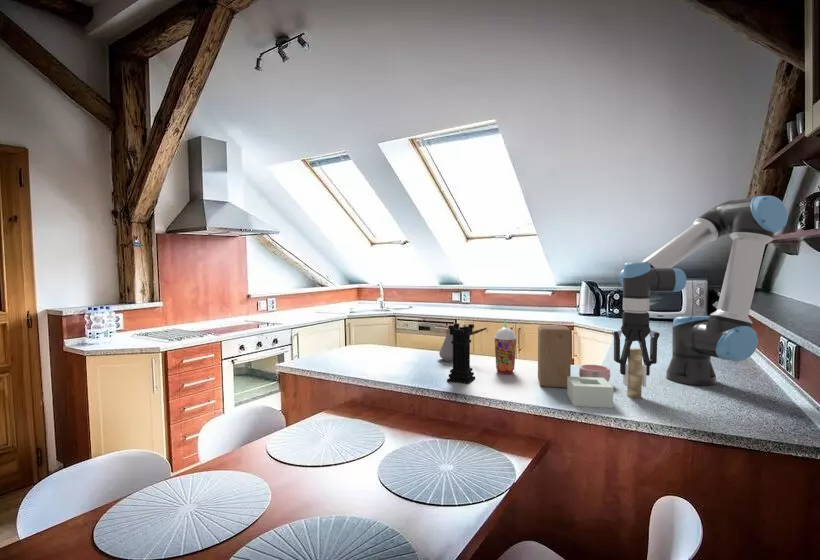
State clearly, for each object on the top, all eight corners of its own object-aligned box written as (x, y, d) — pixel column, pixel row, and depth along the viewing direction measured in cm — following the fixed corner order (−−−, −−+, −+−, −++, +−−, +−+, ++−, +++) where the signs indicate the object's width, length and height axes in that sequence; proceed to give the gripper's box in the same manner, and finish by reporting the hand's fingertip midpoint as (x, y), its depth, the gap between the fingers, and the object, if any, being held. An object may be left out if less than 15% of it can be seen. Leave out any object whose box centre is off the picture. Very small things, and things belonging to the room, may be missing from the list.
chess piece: (475, 378, 164) (475, 324, 163) (468, 384, 156) (468, 327, 156) (454, 376, 167) (454, 323, 166) (447, 381, 160) (447, 325, 159)
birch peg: (638, 395, 143) (639, 348, 142) (643, 398, 139) (644, 350, 139) (625, 394, 144) (626, 348, 143) (629, 398, 140) (630, 350, 139)
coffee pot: (435, 361, 192) (435, 326, 191) (444, 356, 202) (444, 323, 201) (484, 366, 183) (484, 329, 182) (491, 360, 193) (491, 325, 193)
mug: (612, 389, 150) (612, 371, 150) (581, 387, 152) (581, 370, 152) (605, 380, 161) (606, 363, 161) (576, 378, 164) (577, 362, 164)
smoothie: (492, 373, 171) (492, 321, 170) (496, 368, 178) (496, 318, 177) (514, 375, 167) (514, 322, 167) (517, 370, 175) (518, 319, 174)
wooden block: (570, 388, 150) (571, 329, 150) (539, 387, 152) (540, 328, 152) (566, 381, 160) (567, 325, 159) (537, 379, 162) (538, 324, 161)
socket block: (603, 396, 142) (603, 377, 141) (613, 407, 131) (613, 387, 131) (567, 394, 144) (567, 376, 143) (573, 405, 133) (573, 385, 132)
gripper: (661, 310, 142) (660, 383, 143) (603, 309, 146) (602, 380, 147) (671, 313, 135) (669, 389, 136) (609, 312, 138) (608, 387, 139)
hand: (634, 385), depth 141 cm, fingers open, 4 cm apart
